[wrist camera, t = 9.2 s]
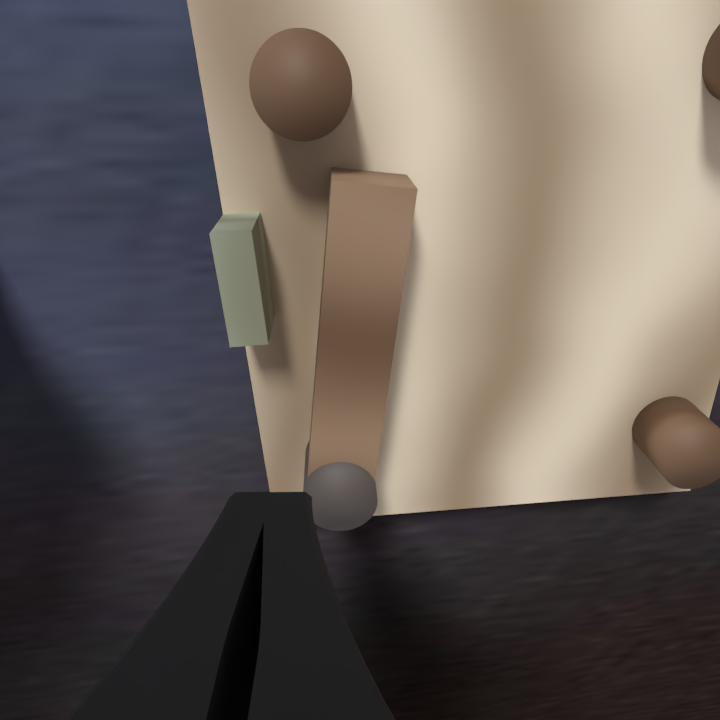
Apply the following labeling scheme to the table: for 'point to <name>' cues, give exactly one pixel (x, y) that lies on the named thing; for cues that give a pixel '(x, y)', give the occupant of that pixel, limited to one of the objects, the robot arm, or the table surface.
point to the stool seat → (484, 233)
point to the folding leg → (356, 340)
